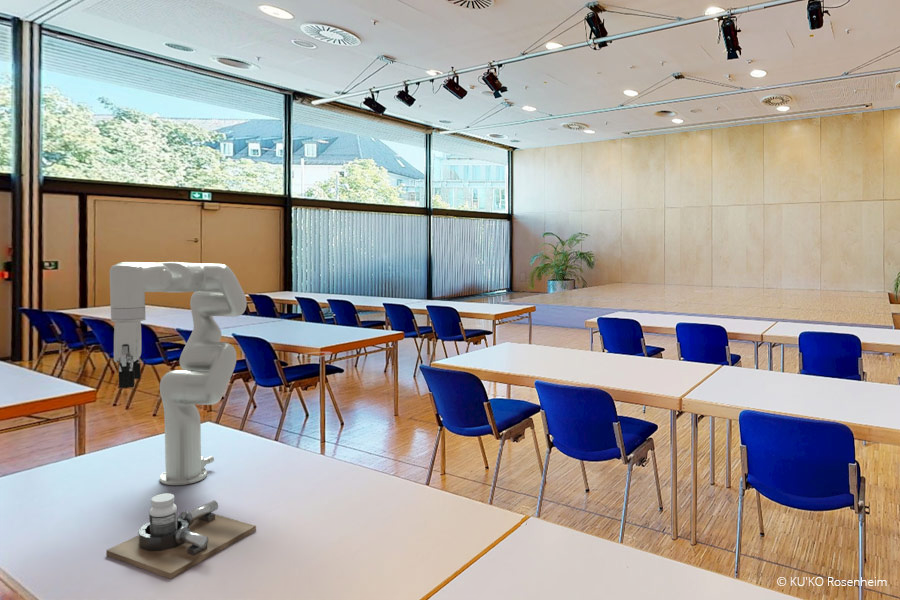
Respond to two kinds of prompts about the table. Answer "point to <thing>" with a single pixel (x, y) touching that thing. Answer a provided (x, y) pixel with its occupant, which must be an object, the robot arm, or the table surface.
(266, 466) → the table surface
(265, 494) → the table surface
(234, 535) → the stand
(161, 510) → the pill bottle
